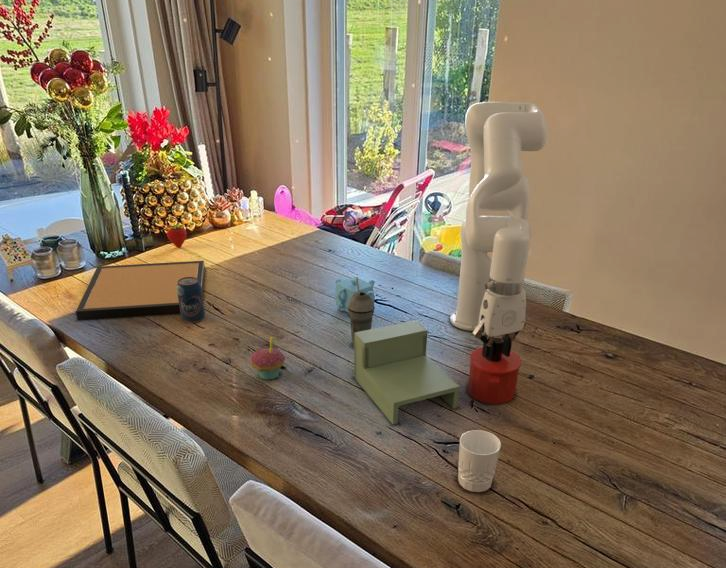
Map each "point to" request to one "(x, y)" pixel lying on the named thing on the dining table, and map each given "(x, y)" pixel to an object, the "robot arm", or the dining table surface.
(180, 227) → the strawberry
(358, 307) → the beverage cup
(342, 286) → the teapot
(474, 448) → the white cup
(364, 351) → the green step stand
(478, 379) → the pot
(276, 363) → the cupcake
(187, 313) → the soda can
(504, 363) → the lid
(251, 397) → the dining table surface
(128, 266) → the cork board
